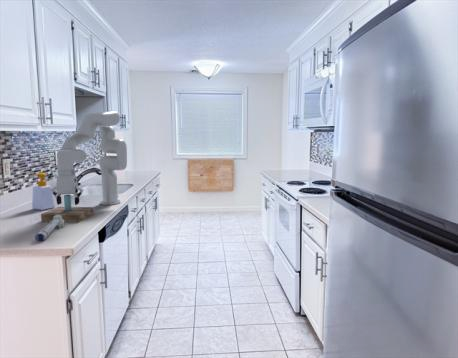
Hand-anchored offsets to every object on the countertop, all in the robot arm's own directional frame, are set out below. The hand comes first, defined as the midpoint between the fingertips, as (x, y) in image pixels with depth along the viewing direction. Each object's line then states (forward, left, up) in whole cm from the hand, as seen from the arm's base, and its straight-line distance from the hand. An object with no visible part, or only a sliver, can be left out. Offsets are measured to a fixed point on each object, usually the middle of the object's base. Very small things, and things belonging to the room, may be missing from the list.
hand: (68, 204), depth 174 cm
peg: (0, 0, -7) cm, 7 cm away
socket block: (0, 0, -8) cm, 8 cm away
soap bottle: (-18, -27, -8) cm, 34 cm away
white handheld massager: (+28, +6, -8) cm, 29 cm away
